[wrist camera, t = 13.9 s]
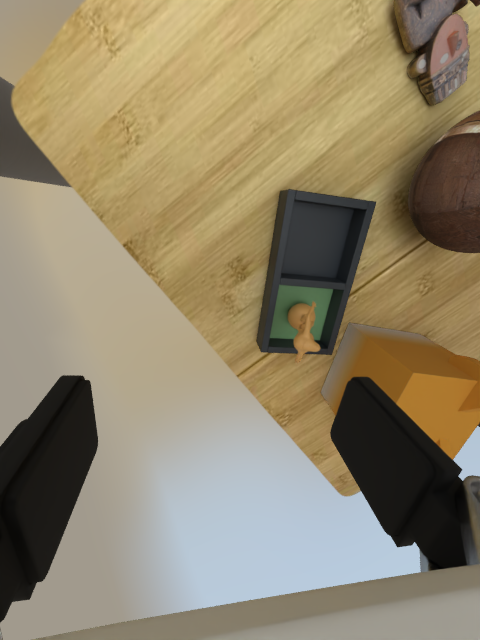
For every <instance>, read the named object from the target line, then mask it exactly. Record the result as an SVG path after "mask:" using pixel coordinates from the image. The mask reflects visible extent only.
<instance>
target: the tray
mask: <svg viewBox="0 0 480 640" xmlns="http://www.w3.org/2000/svg"><path fill="white" fill-rule="evenodd" d="M375 205H376V202H373V201H366V200H359V199H352V198H346V197H339V196H332V195H325V194H318V193H311V192H305V191H298V190H291V189H288V190H283V191H280V195H279V201H278V208H277V214H276V220H275V227H274V233H273V239H272V246H271V252H270V258H269V265H268V271H267V277H266V284H265V290H264V296H263V303H262V309H261V315H260V321H259V328H258V334H257V340H256V341H257V344H258V346H259V348H260V351H261V352H268V353H296V354H298V350H297V349H296V348H295V347H294V338H295V336H296V335H297V333H298V330H297V329H295V328H293V327H292V326H291V325H290V324H289V321H288V312H289V310H290V309H291V307H292V306H294V305H296V304H299V303H304V304H307V305H309V306H312V302H315V303H316V306H317V307H314V312H315V322H314V326H312V328H311V330H310V333H311V334H312V335H313V337H314V341H315V342H316V343H318V344H319V346H320V350H319V351H317V352H312V351H308V352H306V353H305V354H325V355H332V352H333V349H334V346H335V342H336V339H337V335H338V332H339V328H340V325H341V322H342V318H343V315H344V311H345V308H346V304H347V301H348V297H349V294H350V291H351V287H352V284H353V280H354V277H355V273H356V270H357V267H358V263H359V260H360V256H361V253H362V249H363V246H364V243H365V239H366V236H367V232H368V229H369V225H370V222H371V219H372V215H373V212H374V208H375Z"/></svg>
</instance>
